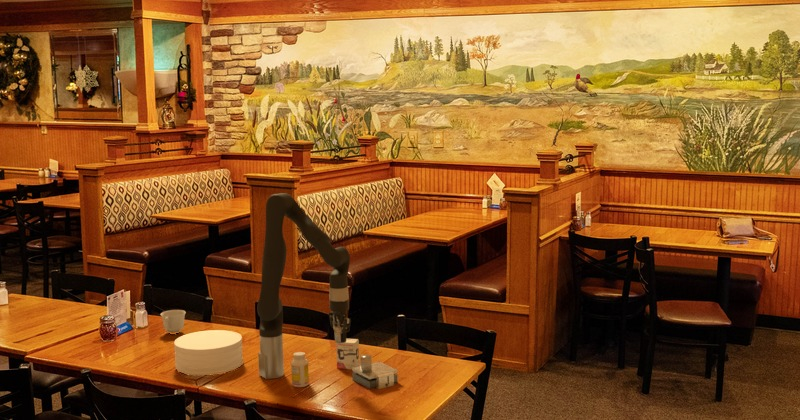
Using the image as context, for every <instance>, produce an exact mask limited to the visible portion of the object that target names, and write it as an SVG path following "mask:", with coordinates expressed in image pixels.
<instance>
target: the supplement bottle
mask: <svg viewBox="0 0 800 420" xmlns="http://www.w3.org/2000/svg"><path fill="white" fill-rule="evenodd" d="M292 356H293V359H292V360H291V361H290V366H291V367H290V368H291V369H290V371H291V385H292V386H293V387H295V388H304V387H307V386H308V385H309V383H310V379H309V378H310V377H309V375H310V374H309V360H308V359H307V358H306V353H305V352H304V351H303V352H302V351H296V352H294V353H293V354H292Z"/></svg>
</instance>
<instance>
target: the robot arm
mask: <svg viewBox="0 0 800 420" xmlns="http://www.w3.org/2000/svg"><path fill="white" fill-rule="evenodd" d="M265 203H266V204H265V233H264V243H263V252H262V261H261V263H262V264H261V287H260V292H259V297H258V302H257V307H256V311H257V315H258V316H259V318H260V320H259V321H260V323H259V327H258V328H259V331H258V334H259V352H258V353H257V354H258V376H259V377H261V376H262V377H261V378H262V379H264V378H265V380H271V379H273V380H274V379H278V378H279V379H280V378H282V377H284V374H285V369H284V368H285V367H284V346H283V345H284V342H283V325H284V311H283V302H282V300H281V298H280V288H281V283H282V279H283V276H284V272H285V268H286V262H287V261H286V260H287V244H286V242H285V241H286V240H285V237H284V234H283V227H284V220H285V217H286V218H288V219H289V220H291V222H292V223H293V224H295V225H296V227H297V228H298V230H299V231H300V233H301V235H302V236H303V238H304V239H305V240H306V241H307V243H309V245H311V246H312V248H314V249H315V250H316V251H317V252H318V254H319V256H320V257H321V258H322V260H323V261H324V263H326V265H327V266H329V267H331V268H333V269H332V271H331V273H330V274H329V277H328V278H329V291H328V293H329V294H328V296H329V311H330V312H328V318H329V323H330V327H331V328H333V329H332V330H333V331H334V332H333V333H334V334H333V335H334V337H333V338H334V339H335V330H334V327H335V326H338V327H339V328H340V332H341V333H340V336H341V342H346V339H347V333H349V332H350V330H351V329H350V328H351V322H352V318H351V317H349V318H348V315H347V311H349V309H350V301H349V300H350V298H349V296H350V295H349V293H350V292H349V287H348V286H349V284H348V274H349V268H350V263H351V262H350V261H351V257H350V252H349V250H348V248H346V247H344V246H338V247H336V248H335V247H334V246H333V245H332V239H331V237H330V236H329V235H328V234H326V232H324V230H322V229H321V228H320V227H319V226H318V225H317V224H316V223H315V222H314V221H313V220H312V219H311V217H309V216H308V215H307V213H306V212H305V211H304V210H303V209H302V207H301V206H300V205H299V204H298V201H296V200H295V199H294V197H293V196H292V195H291V194H289V193H284V192H281V193H274V194H271V195H270V196H269V197H268V198H267V200H266V202H265ZM342 327H343V329H342Z"/></svg>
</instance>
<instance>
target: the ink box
mask: <svg viewBox="0 0 800 420" xmlns="http://www.w3.org/2000/svg"><path fill="white" fill-rule="evenodd" d="M359 342H360V341H359V339H358V338H346V342H345V343H336V369H345V370H352V368H354V367H358V366H360V347H359V346H360V345H359V344H360V343H359Z"/></svg>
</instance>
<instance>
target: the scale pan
mask: <svg viewBox="0 0 800 420" xmlns="http://www.w3.org/2000/svg"><path fill="white" fill-rule="evenodd" d="M352 372H353V373H354V372H356V373H358V374H360V375H362V376H364V377H366V378H368V379H373V378H376V375H380V374H384V373H388V372H393V373H394V374H397V373H398V369H396V368H395V367H392V366H391V365H388V364H385V363H384V362H381V361H376V362H372V371H371V372H369V373H363V372H361V368H360V365H359V366H358V367H354V368H352Z"/></svg>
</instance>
